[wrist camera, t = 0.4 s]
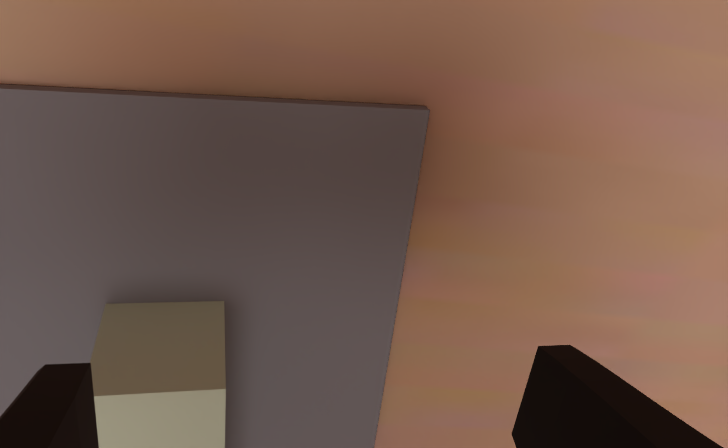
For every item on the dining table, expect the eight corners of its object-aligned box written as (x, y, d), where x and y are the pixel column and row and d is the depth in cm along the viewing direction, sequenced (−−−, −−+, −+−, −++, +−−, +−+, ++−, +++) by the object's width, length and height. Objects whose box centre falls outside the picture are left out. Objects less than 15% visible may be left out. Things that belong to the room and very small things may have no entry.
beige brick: (222, 459, 23) (222, 561, 19) (120, 467, 22) (102, 575, 18) (224, 300, 20) (225, 389, 16) (105, 303, 19) (80, 396, 15)
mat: (362, 499, 26) (363, 507, 26) (-348, 572, 20) (-358, 583, 20) (425, 106, 18) (429, 110, 18) (-685, 48, 13) (-710, 52, 12)
